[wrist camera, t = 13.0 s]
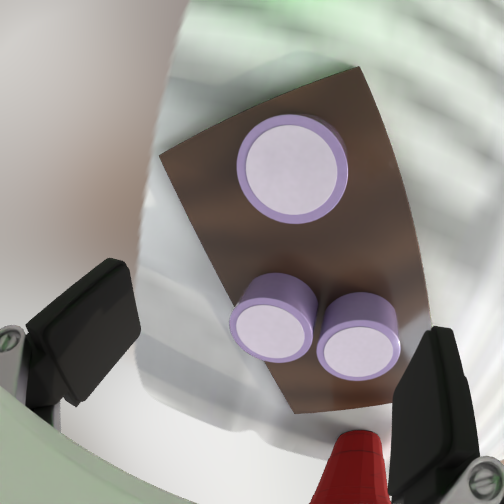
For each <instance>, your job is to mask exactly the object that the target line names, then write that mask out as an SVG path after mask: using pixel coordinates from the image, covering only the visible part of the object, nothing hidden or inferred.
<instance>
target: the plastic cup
mask: <svg viewBox="0 0 504 504" xmlns="http://www.w3.org/2000/svg"><path fill="white" fill-rule="evenodd" d="M309 504H391V501H390V498H389V495H388V488H387V479H386V471H385V463H384V459H383V453H382V444H381V441H380V438H379V436H378V435H377V434H375V433H373V432H370V431H364V430H355V431H350V432H346V433H344V434H342V435H340V437H339V438H338V439H337V441H336V443H335V445H334V448H333V451H332V453H331V456H330V458H329V459H328V462H327V465H326V467H325V470H324V472H323V474H322V477H321V479H320V482H319V484H318V487H317V489H316V491H315V494H314V495H313V497H312V499H311V502H310V503H309Z"/></svg>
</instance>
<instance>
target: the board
mask: <svg viewBox="0 0 504 504" xmlns="http://www.w3.org/2000/svg"><path fill="white" fill-rule="evenodd" d="M290 113H307V114H311V115H314V116H317V117H319V118H321V119H323V120H325V121H326V122H328V123H329V124H331V125H332V126H333V127H334V128H335V129H336V130H337V132H338V133H339V134H340V136H341V137H342V139H343V141H344V143H345V146H346V149H347V153H348V179H347V185H346V188H345V191H344V193H343V196H342V197H341V199H340V201H339V202H338V203H337V205H336V206H335V207H334V208H333V209H332V210H331V211H330V212H329V213H327V214H326V215H324V216H323V217H321V218H319V219H317V220H314V221H311V222H307V223H301V224H290V223H283V222H279V221H276V220H274V219H271V218H269V217H267V216H265V215H264V214H262V213H261V212H259V211H258V210H257V209H256V208H255V207H254V206H253V205H252V204H251V203H250V202H249V201H248V199H247V198H246V196H245V195H244V193H243V191H242V189H241V186H240V184H239V180H238V176H237V157H238V152H239V149H240V146H241V144H242V142H243V140H244V139H245V137H246V136H247V134H248V133H249V132H250V131H251V130H252V129H253V128H254V127H255V126H256V125H258V124H259V123H261V122H262V121H264V120H266V119H268V118H271V117H274V116H279V115H284V114H290ZM159 158H160V160H161V162H162V164H163V166H164V168H165V170H166V172H167V174H168V177H169V179H170V181H171V183H172V185H173V187H174V189H175V191H176V193H177V195H178V197H179V199H180V201H181V203H182V205H183V207H184V210H185V212H186V214H187V216H188V218H189V220H190V222H191V224H192V226H193V228H194V230H195V232H196V234H197V236H198V238H199V240H200V242H201V244H202V245H203V247H204V249H205V251H206V253H207V255H208V257H209V259H210V261H211V263H212V265H213V267H214V269H215V271H216V273H217V275H218V277H219V279H220V280H221V282H222V284H223V286H224V288H225V290H226V292H227V294H228V296H229V298H230V299H231V301H232V303H233V305H234V307H235V306H236V304H237V303H238V301H239V299H240V297H241V296H242V294H243V292H244V291H245V289H246V287H247V286H248V284H249V283H250V282H251V281H252V280H253V279H255V278H256V277H258V276H260V275H263V274H267V273H284V274H288V275H291V276H294V277H296V278H298V279H300V280H301V281H303V282H304V283H305V284H307V285H308V286H309V287H310V288H311V290H312V291H313V293H314V294H315V296H316V298H317V301H318V306H319V312H318V317H317V322H316V326H315V331H314V336H313V340H312V344H311V346H310V348H309V350H308V351H307V352H306V353H305V354H304V355H303V356H301V357H300V358H298V359H296V360H293V361H290V362H284V363H274V362H268V361H264V362H265V364H266V365H267V367H268V369H269V371H270V372H271V374H272V376H273V378H274V379H275V381H276V383H277V385H278V386H279V388H280V390H281V392H282V393H283V395H284V397H285V399H286V400H287V402H288V404H289V405H290V407H291V409H292V411H293V412H294V414H302V413H316V412H327V411H337V410H346V409H355V408H362V407H369V406H376V405H382V404H388V403H392V399H393V394H394V390H395V388H396V386H397V385H398V383H399V381H400V379H401V377H402V376H403V374H404V372H405V370H406V368H407V366H408V364H409V363H410V361H411V359H412V357H413V355H414V353H415V351H416V349H417V347H418V345H419V343H420V341H421V339H422V336H423V334H424V333H425V331H426V330H431V328H432V323H431V315H430V307H429V300H428V293H427V287H426V281H425V275H424V269H423V264H422V259H421V254H420V249H419V244H418V239H417V235H416V231H415V226H414V222H413V218H412V214H411V210H410V206H409V202H408V199H407V195H406V191H405V188H404V184H403V181H402V177H401V174H400V171H399V168H398V164H397V161H396V158H395V155H394V152H393V149H392V146H391V143H390V140H389V138H388V135H387V132H386V129H385V126H384V124H383V121H382V118H381V116H380V113H379V111H378V108H377V106H376V103H375V101H374V98H373V96H372V93H371V91H370V89H369V86H368V84H367V82H366V80H365V77H364V75H363V73H362V71H361V68H360V67H359V66H358V67H355V68H352V69H349V70H346V71H343V72H340V73H337V74H334V75H332V76H329V77H326V78H323V79H320V80H318V81H315V82H312V83H310V84H307V85H305V86H302V87H299V88H297V89H294V90H292V91H289V92H287V93H285V94H282V95H280V96H277V97H275V98H273V99H270V100H268V101H266V102H263V103H261V104H259V105H257V106H254V107H252V108H250V109H248V110H246V111H243V112H241V113H239V114H237V115H235V116H233V117H231V118H229V119H227V120H225V121H223V122H221V123H218V124H216V125H214V126H212V127H211V128H209V129H207V130H205V131H203V132H201V133H199V134H197V135H195V136H193V137H191V138H189V139H188V140H186V141H184V142H182V143H180V144H178V145H177V146H175V147H173V148H171V149H169V150H168V151H166V152H164V153H162V154H161V155H159ZM355 292H367V293H372V294H376V295H378V296H381V297H382V298H384V299H386V300H387V301H388V302H389V303H390V304H391V305H392V306H393V308H394V309H395V311H396V314H397V318H398V327H399V336H400V346H401V350H400V355H399V358H398V360H397V362H396V363H395V365H394V366H393V367H392V368H391V369H390V370H389V371H387V372H386V373H385V374H383V375H381V376H379V377H376V378H373V379H369V380H363V381H351V380H345V379H341V378H339V377H336V376H334V375H332V374H331V373H329V372H328V371H326V370H325V369H324V368H323V367H322V365H321V364H320V362H319V360H318V358H317V353H316V347H317V343H318V338H319V333H320V328H321V323H322V317H323V314H324V312H325V310H326V309H327V307H328V306H329V305H330V304H331V303H332V302H333V301H335V300H336V299H338V298H339V297H341V296H344V295H346V294H350V293H355Z"/></svg>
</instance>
